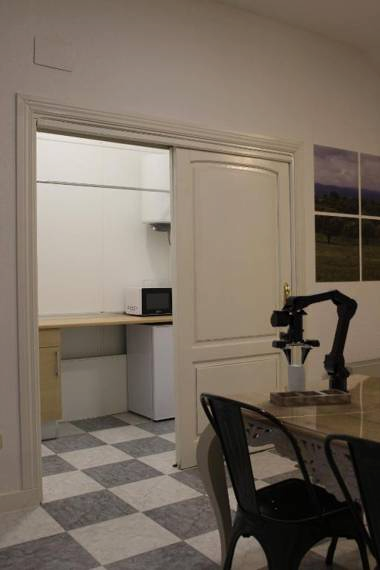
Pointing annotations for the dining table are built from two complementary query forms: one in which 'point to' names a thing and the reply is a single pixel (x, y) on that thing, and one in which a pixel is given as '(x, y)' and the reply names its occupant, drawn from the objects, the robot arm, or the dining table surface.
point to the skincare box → (296, 378)
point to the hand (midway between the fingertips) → (296, 364)
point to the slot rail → (310, 397)
